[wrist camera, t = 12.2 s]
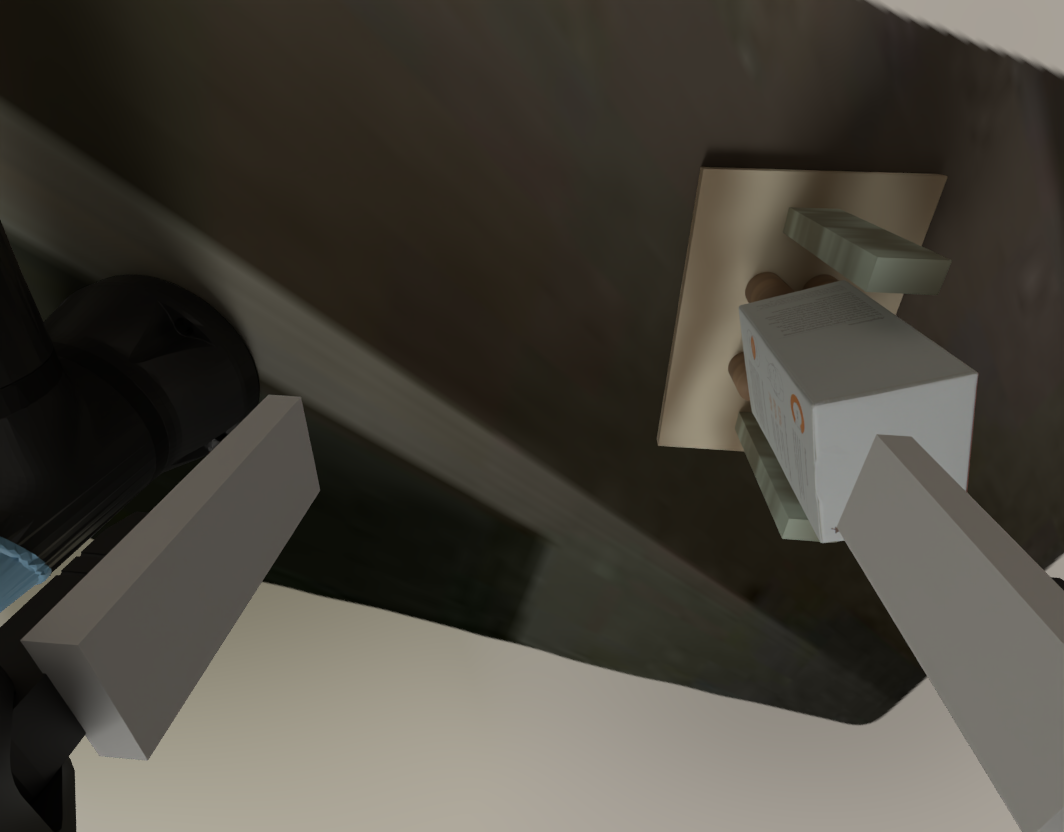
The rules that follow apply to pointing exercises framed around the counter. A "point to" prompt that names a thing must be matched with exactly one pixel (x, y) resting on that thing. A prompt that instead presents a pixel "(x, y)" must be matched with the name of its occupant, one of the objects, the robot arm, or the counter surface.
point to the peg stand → (782, 289)
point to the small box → (849, 392)
